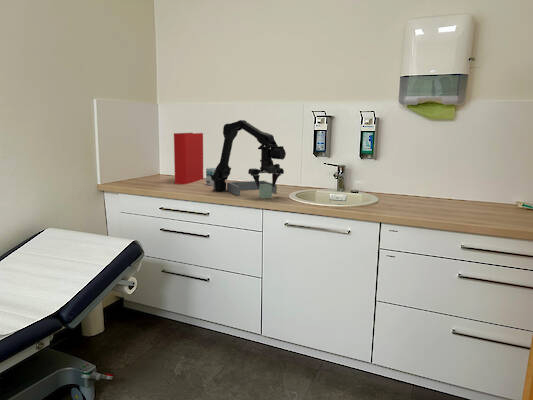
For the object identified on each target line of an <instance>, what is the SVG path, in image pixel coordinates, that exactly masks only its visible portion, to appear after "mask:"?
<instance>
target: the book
mask: <svg viewBox="0 0 533 400" xmlns="http://www.w3.org/2000/svg"><path fill="white" fill-rule="evenodd" d="M173 150H174V151H173V155H174V157H173V158H174V163H173V164H174V184H175V185H188V184H192V183H194V182H198V181H201V180H204V133H203V132H198V133H197V132H195V133H193V132H176V133H173Z"/></svg>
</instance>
